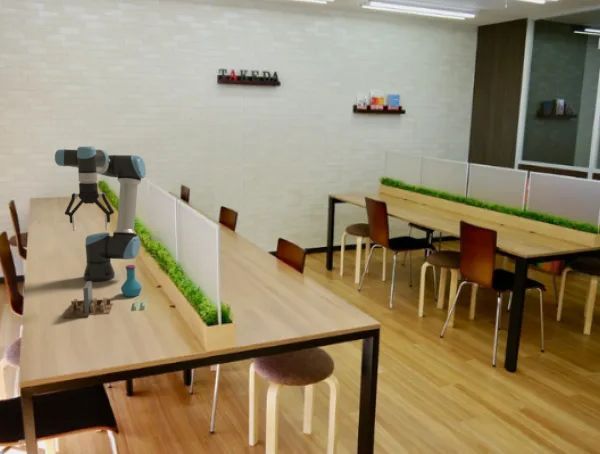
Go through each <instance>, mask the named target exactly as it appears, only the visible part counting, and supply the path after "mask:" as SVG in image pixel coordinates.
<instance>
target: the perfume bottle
mask: <svg viewBox="0 0 600 454" xmlns="http://www.w3.org/2000/svg"><path fill="white" fill-rule="evenodd" d="M135 269H136V266H135V264H128V265H126V266H125V270H126V280H125V281H124V282H123V284H122V285H121V286H120V290H121V293H122V295H123V296H125V297H127V298H128V297H130V298H134V297H137V296H139V295H141V291H142V285H141V284H140V282H139V281H138V280H137V279H136V274H135V273H136V271H135Z"/></svg>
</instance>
